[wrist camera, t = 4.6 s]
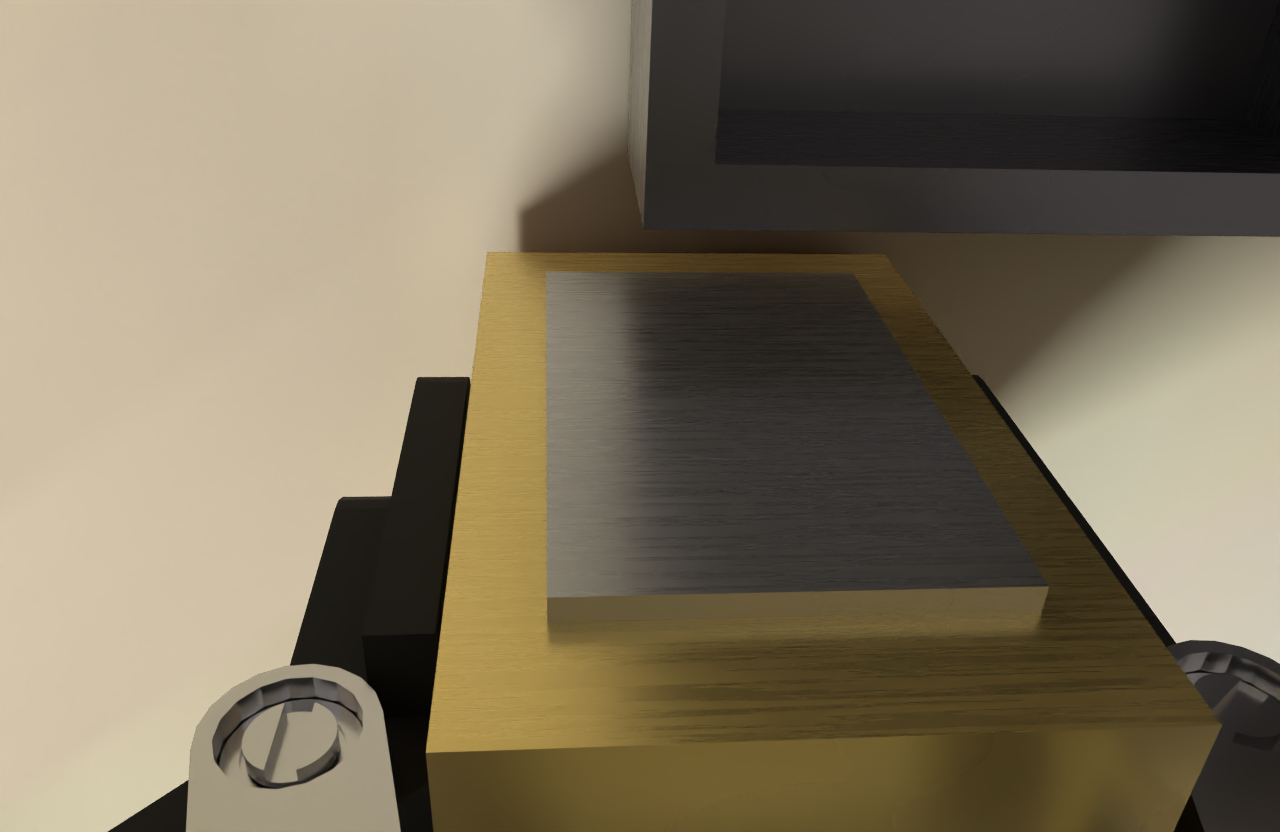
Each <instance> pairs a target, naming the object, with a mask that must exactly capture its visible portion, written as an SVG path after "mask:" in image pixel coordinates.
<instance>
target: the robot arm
mask: <svg viewBox="0 0 1280 832" xmlns="http://www.w3.org/2000/svg"><path fill="white" fill-rule="evenodd" d="M971 376H972V377H973V378H974V380H975V381H976V383H977V384H978V385H979V387H980V388H981V390H982V391H983V392H984V394H985V395H986V397H987V398H988V399H989V401H990V402H991V403H992V405H993V406H994V408H995V409H996V410H997V412H998V413H999V415H1000V416H1001V417H1002V419H1003V420H1004V422H1005V423H1006V424H1007V426H1008V427H1009V429H1010V430H1011V431H1012V433H1013V434H1014V436H1015V437H1016V438H1017V440H1018V441H1019V443H1020V444H1021V445H1022V447H1023V448H1024V450H1025V451H1026V452H1027V454H1028V455H1029V456H1030V458H1031V459H1032V461H1033V462H1034V463H1035V465H1036V466H1037V468H1038V469H1039V470H1040V472H1041V473H1042V475H1043V476H1044V477H1045V479H1046V480H1047V482H1048V483H1049V484H1050V486H1051V487H1052V489H1053V490H1054V491H1055V493H1056V494H1057V496H1058V497H1059V498H1060V500H1061V501H1062V503H1063V504H1064V505H1065V507H1066V508H1067V510H1068V511H1069V512H1070V514H1071V515H1072V516H1073V518H1074V519H1075V521H1076V522H1077V523H1078V525H1079V526H1080V528H1081V529H1082V530H1083V532H1084V533H1085V535H1086V536H1087V537H1088V539H1089V540H1090V542H1091V543H1092V544H1093V546H1094V547H1095V549H1096V550H1097V551H1098V553H1099V554H1100V556H1101V557H1102V558H1103V560H1104V561H1105V563H1106V564H1107V565H1108V567H1109V568H1110V569H1111V571H1112V572H1113V574H1114V575H1115V576H1116V578H1117V579H1118V581H1119V582H1120V583H1121V585H1122V586H1123V588H1124V589H1125V590H1126V592H1127V593H1128V595H1129V596H1130V597H1131V599H1132V600H1133V602H1134V603H1135V604H1136V606H1137V607H1138V609H1139V610H1140V611H1141V613H1142V614H1143V616H1144V617H1145V618H1146V620H1147V621H1148V622H1149V624H1150V625H1151V627H1152V628H1153V629H1154V631H1155V632H1156V634H1157V635H1158V636H1159V638H1160V639H1161V641H1162V642H1163V643H1164V645H1165V646H1166V648H1167V649H1168V650H1169V652H1170V653H1171V655H1172V656H1173V657H1174V659H1175V660H1176V662H1177V663H1178V664H1179V666H1180V667H1181V669H1182V670H1183V671H1184V673H1185V674H1186V675H1187V677H1188V678H1189V680H1190V681H1191V682H1192V684H1193V685H1194V687H1195V688H1196V689H1197V691H1198V692H1199V694H1200V695H1201V696H1202V698H1203V699H1204V701H1205V702H1206V703H1207V705H1208V706H1209V708H1210V709H1211V710H1212V712H1213V713H1214V715H1215V716H1216V717H1217V719H1218V720H1219V722H1220V723H1221V724H1222V727H1221V729H1220V731H1219V733H1218V735H1217V738H1216V740H1215V742H1214V744H1213V746H1212V749H1211V751H1210V753H1209V755H1208V757H1207V759H1206V762H1205V764H1204V766H1203V768H1202V770H1201V772H1200V775H1199V777H1198V779H1197V781H1196V783H1195V785H1194V788H1193V790H1192V792H1191V794H1190V796H1189V799H1188V801H1187V803H1186V805H1185V807H1184V809H1183V812H1182V814H1181V816H1180V818H1179V820H1178V822H1177V825H1176V827H1175V829H1174V831H1173V832H1280V664H1279V663H1277V662H1276V661H1274V660H1272V659H1270V658H1268V657H1266V656H1263V655H1261V654H1258V653H1256V652H1253V651H1251V650H1248V649H1246V648H1243V647H1240V646H1235V645H1231V644H1226V643H1222V642H1217V641H1198V640H1190V641H1185V642H1181V643H1177V644H1176V642H1175V641H1174V640H1173V638H1172V637H1171V636H1170V634H1169V633H1168V631H1167V630H1166V629H1165V627H1164V626H1163V625H1162V623H1161V622H1160V621H1159V619H1158V618H1157V616H1156V615H1155V614H1154V612H1153V611H1152V610H1151V608H1150V607H1149V606H1148V604H1147V603H1146V601H1145V600H1144V599H1143V597H1142V596H1141V595H1140V593H1139V592H1138V591H1137V589H1136V588H1135V586H1134V585H1133V584H1132V582H1131V581H1130V580H1129V578H1128V577H1127V576H1126V574H1125V573H1124V571H1123V570H1122V569H1121V567H1120V566H1119V565H1118V563H1117V562H1116V561H1115V559H1114V558H1113V556H1112V555H1111V554H1110V552H1109V551H1108V550H1107V548H1106V547H1105V546H1104V544H1103V543H1102V541H1101V540H1100V539H1099V537H1098V536H1097V535H1096V533H1095V532H1094V531H1093V529H1092V528H1091V526H1090V525H1089V524H1088V522H1087V521H1086V520H1085V518H1084V517H1083V516H1082V514H1081V513H1080V511H1079V510H1078V509H1077V507H1076V506H1075V505H1074V503H1073V502H1072V501H1071V499H1070V498H1069V497H1068V495H1067V494H1066V493H1065V491H1064V490H1063V489H1062V487H1061V486H1060V484H1059V483H1058V482H1057V480H1056V479H1055V478H1054V476H1053V475H1052V474H1051V472H1050V471H1049V469H1048V468H1047V467H1046V465H1045V464H1044V463H1043V461H1042V460H1041V459H1040V457H1039V456H1038V454H1037V453H1036V452H1035V450H1034V449H1033V448H1032V446H1031V445H1030V444H1029V442H1028V441H1027V439H1026V438H1025V437H1024V435H1023V434H1022V433H1021V431H1020V430H1019V429H1018V427H1017V426H1016V424H1015V423H1014V422H1013V420H1012V419H1011V418H1010V416H1009V415H1008V413H1007V412H1006V411H1005V409H1004V408H1003V407H1002V405H1001V404H1000V403H999V401H998V400H997V398H996V397H995V396H994V394H993V393H992V392H991V390H990V389H989V388H988V386H987V385H986V383H985V382H984V381H983V379H981V378H980V377H979V376H978V375H971ZM470 388H471V384H470V378H469V377H418V378H417V381H416V385H415V389H414V394H413V398H412V403H411V408H410V412H409V417H408V422H407V426H406V431H405V436H404V440H403V445H402V450H401V454H400V459H399V464H398V468H397V473H396V478H395V482H394V487H393V492H392V496H387V497H342V498H341V499H339V501H338V503H337V506H336V508H335V511H334V515H333V518H332V522H331V525H330V529H329V532H328V535H327V539H326V542H325V546H324V549H323V553H322V556H321V560H320V563H319V567H318V570H317V574H316V577H315V580H314V584H313V587H312V591H311V594H310V598H309V601H308V605H307V608H306V612H305V615H304V619H303V622H302V625H301V629H300V632H299V636H298V639H297V643H296V646H295V650H294V653H293V657H292V660H291V664H290V666H285V667H281V668H278V669H274V670H271V671H267V672H264V673H261V674H258V675H256V676H254V677H252V678H250V679H248V680H246V681H244V682H242V683H240V684H239V685H237V686H235V687H233V688H231V689H230V690H229V691H228V692H227V693H226V694H224V695H223V696H222V697H221V698H220V699H219V700H217V701H216V702H215V703H214V704H213V705H211V707H210V708H209V709H208V711H207V712H206V714H205V715H204V717H203V718H202V720H201V721H200V723H199V724H198V725H197V727H196V730H195V734H194V738H193V742H192V745H191V749H190V765H189V780H188V781H186V782H185V783H183V784H181V785H180V786H178V787H177V788H175V789H174V790H172V791H171V792H169V793H167V794H166V795H164V796H163V797H161V798H160V799H158V800H157V801H155V802H153V803H152V804H150V805H149V806H147V807H146V808H144V809H142V810H141V811H139V812H138V813H136V814H135V815H133V816H132V817H130V818H128V819H127V820H125V821H124V822H122V823H121V824H119V825H118V826H116V827H114V828H113V829H111V830H110V831H108V832H433V822H432V811H431V801H430V791H429V780H428V770H427V760H426V747H427V739H428V731H429V723H430V714H431V706H432V698H433V690H434V682H435V674H436V666H437V657H438V649H439V641H440V633H441V625H442V617H443V608H444V600H445V592H446V584H447V576H448V568H449V559H450V551H451V543H452V535H453V527H454V519H455V510H456V502H457V494H458V486H459V478H460V470H461V462H462V453H463V445H464V437H465V429H466V421H467V413H468V404H469V396H470Z"/></svg>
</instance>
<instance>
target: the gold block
mask: <svg viewBox="0 0 1280 832" xmlns="http://www.w3.org/2000/svg"><path fill="white" fill-rule="evenodd" d="M1221 727H1222V724H1221V723H1220V722H1219V720H1218V719H1217V717H1216V716H1215V715H1214V713H1213V712H1212V710H1211V709H1210V708H1209V706H1208V705H1207V703H1206V702H1205V701H1204V699H1203V698H1202V696H1201V695H1200V694H1199V692H1198V691H1197V689H1196V688H1195V687H1194V685H1193V684H1192V682H1191V681H1190V680H1189V678H1188V677H1187V675H1186V674H1185V673H1184V671H1183V670H1182V669H1181V667H1180V666H1179V664H1178V663H1177V662H1176V660H1175V659H1174V657H1173V656H1172V655H1171V653H1170V652H1169V650H1168V649H1167V648H1166V646H1165V645H1164V643H1163V642H1162V641H1161V639H1160V638H1159V636H1158V635H1157V634H1156V632H1155V631H1154V629H1153V628H1152V627H1151V625H1150V624H1149V622H1148V621H1147V620H1146V618H1145V617H1144V616H1143V614H1142V613H1141V611H1140V610H1139V609H1138V607H1137V606H1136V604H1135V603H1134V602H1133V600H1132V599H1131V597H1130V596H1129V595H1128V593H1127V592H1126V590H1125V589H1124V588H1123V586H1122V585H1121V583H1120V582H1119V581H1118V579H1117V578H1116V576H1115V575H1114V574H1113V572H1112V571H1111V569H1110V568H1109V567H1108V565H1107V564H1106V563H1105V561H1104V560H1103V558H1102V557H1101V556H1100V554H1099V553H1098V551H1097V550H1096V549H1095V547H1094V546H1093V544H1092V543H1091V542H1090V540H1089V539H1088V537H1087V536H1086V535H1085V533H1084V532H1083V530H1082V529H1081V528H1080V526H1079V525H1078V523H1077V522H1076V521H1075V519H1074V518H1073V516H1072V515H1071V514H1070V512H1069V511H1068V510H1067V508H1066V507H1065V505H1064V504H1063V503H1062V501H1061V500H1060V498H1059V497H1058V496H1057V494H1056V493H1055V491H1054V490H1053V489H1052V487H1051V486H1050V484H1049V483H1048V482H1047V480H1046V479H1045V477H1044V476H1043V475H1042V473H1041V472H1040V470H1039V469H1038V468H1037V466H1036V465H1035V463H1034V462H1033V461H1032V459H1031V458H1030V456H1029V455H1028V454H1027V452H1026V451H1025V450H1024V448H1023V447H1022V445H1021V444H1020V443H1019V441H1018V440H1017V438H1016V437H1015V436H1014V434H1013V433H1012V431H1011V430H1010V429H1009V427H1008V426H1007V424H1006V423H1005V422H1004V420H1003V419H1002V417H1001V416H1000V415H999V413H998V412H997V410H996V409H995V408H994V406H993V405H992V403H991V402H990V401H989V399H988V398H987V397H986V395H985V394H984V392H983V391H982V390H981V388H980V387H979V385H978V384H977V383H976V381H975V380H974V378H973V377H972V376H971V374H970V373H969V371H968V370H967V369H966V367H965V366H964V364H963V363H962V362H961V360H960V359H959V357H958V356H957V355H956V353H955V352H954V350H953V349H952V348H951V346H950V345H949V344H948V342H947V341H946V339H945V338H944V337H943V335H942V334H941V332H940V331H939V330H938V328H937V327H936V325H935V324H934V323H933V321H932V320H931V318H930V317H929V316H928V314H927V313H926V311H925V310H924V309H923V307H922V306H921V304H920V303H919V302H918V300H917V299H916V297H915V296H914V295H913V293H912V292H911V291H910V289H909V288H908V286H907V285H906V284H905V282H904V281H903V279H902V278H901V277H900V275H899V274H898V272H897V271H896V270H895V268H894V267H893V265H892V264H891V263H890V261H889V260H888V258H887V257H886V256H885V254H712V253H539V252H487V258H486V266H485V274H484V282H483V290H482V298H481V307H480V315H479V323H478V331H477V339H476V347H475V355H474V364H473V372H472V380H471V388H470V396H469V404H468V413H467V421H466V429H465V437H464V445H463V453H462V462H461V470H460V478H459V486H458V494H457V502H456V510H455V519H454V527H453V535H452V543H451V551H450V559H449V568H448V576H447V584H446V592H445V600H444V608H443V617H442V625H441V633H440V641H439V649H438V657H437V666H436V674H435V682H434V690H433V698H432V706H431V714H430V723H429V731H428V739H427V747H426V760H427V770H428V780H429V791H430V801H431V811H432V822H433V832H1173V831H1174V829H1175V827H1176V825H1177V822H1178V820H1179V818H1180V816H1181V814H1182V812H1183V809H1184V807H1185V805H1186V803H1187V801H1188V799H1189V796H1190V794H1191V792H1192V790H1193V788H1194V785H1195V783H1196V781H1197V779H1198V777H1199V775H1200V772H1201V770H1202V768H1203V766H1204V764H1205V762H1206V759H1207V757H1208V755H1209V753H1210V751H1211V749H1212V746H1213V744H1214V742H1215V740H1216V738H1217V735H1218V733H1219V731H1220V729H1221Z"/></svg>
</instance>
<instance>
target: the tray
mask: <svg viewBox="0 0 1280 832" xmlns="http://www.w3.org/2000/svg"><path fill="white" fill-rule="evenodd" d="M627 152H628V157H629V162H630V167H631V172H632V176H633V181H634V186H635V191H636V196H637V201H638V206H639V211H640V216H641V221H642V226H643V229H678V230H762V231H847V232H932V233H1017V234H1101V235H1186V236H1271V237H1280V0H632V15H631V47H630V79H629V112H628V144H627Z"/></svg>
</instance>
